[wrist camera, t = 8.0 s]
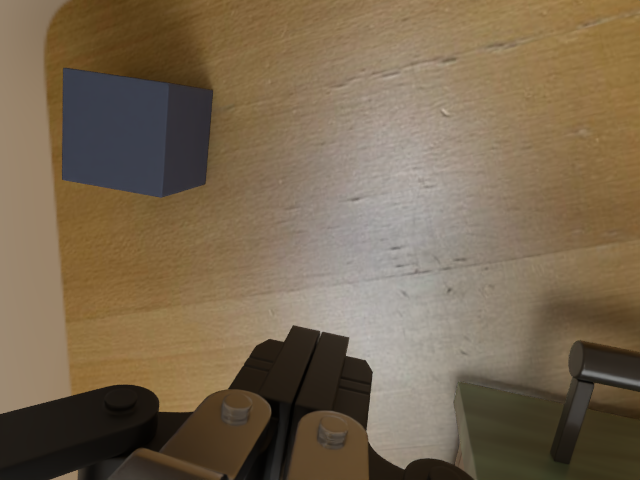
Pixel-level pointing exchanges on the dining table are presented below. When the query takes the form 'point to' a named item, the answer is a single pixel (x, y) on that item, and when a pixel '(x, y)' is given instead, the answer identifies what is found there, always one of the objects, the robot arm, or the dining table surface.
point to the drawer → (552, 426)
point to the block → (134, 133)
